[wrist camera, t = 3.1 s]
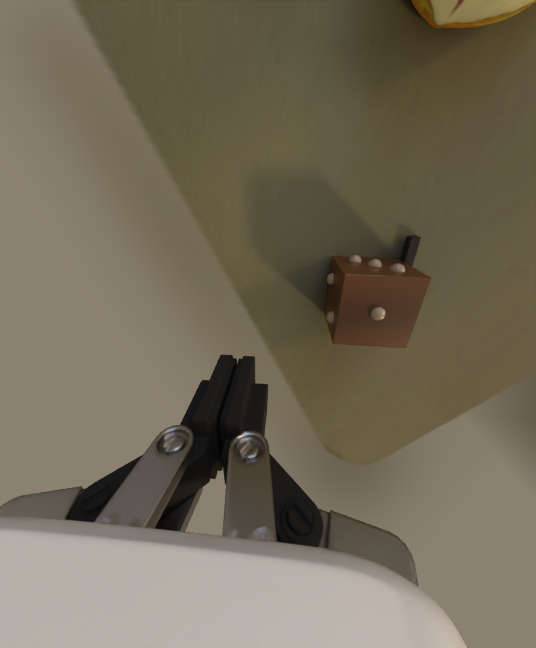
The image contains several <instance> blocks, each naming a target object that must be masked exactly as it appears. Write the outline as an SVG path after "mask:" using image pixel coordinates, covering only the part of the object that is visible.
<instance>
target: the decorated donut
mask: <svg viewBox="0 0 536 648" xmlns="http://www.w3.org/2000/svg"><path fill="white" fill-rule="evenodd" d="M411 1H412V3H413V5H414V7H415V9H416V10H417V11H418V12H419V14H420V15H421V17H423V18H424V19H425V20H426V22H427V23H428V24H429V25H430V26H431V27H433V28H447V29H448V28H470V27H481V26H485V25H488V24H492V23H496V22H499V21H503V20H505V19H507V18H509V17H512V16H514V15H516V14H518V13H519V12H521V11H522V10H524V9H526V8H527V7H529V6H530V5H532V4H533V3H535V2H536V0H411Z"/></svg>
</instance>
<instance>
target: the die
mask: <svg viewBox="0 0 536 648" xmlns="http://www.w3.org/2000/svg"><path fill="white" fill-rule="evenodd" d="M430 279H431V277H429V276H427V275H425V274H424V273H422V272H420V271H418V270H417V269H415V268H413V267H411V266H410V265H408V264H406V263H404V262H403V261H401V260H399V259H397V258H369V257H359V256H358V255H353V256H351V257H340V256H333V257H332V262H331V269H330V274H329V275H328V276H327V282H328V290H327V297H326V304H325V311H324V314H325V317H326V321H327V324H328V328H329V331H330V335H331V338H332V342H333V344H348V345H364V346H381V347H398V348H406V347H407V344H408V342H409V339H410V336H411V333H412V330H413V328H414V325H415V322H416V319H417V316H418V313H419V311H420V308H421V305H422V302H423V299H424V296H425V294H426V291H427V288H428V285H429V282H430Z"/></svg>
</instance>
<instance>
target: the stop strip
mask: <svg viewBox="0 0 536 648" xmlns="http://www.w3.org/2000/svg"><path fill="white" fill-rule="evenodd" d="M420 239H421V237H418V236H408V237H407V241H406V244H405V248H404V251H403V255H402V258H401V261H403V262H404V263H406V264H408V265H410V266H411V267H412V265H413V262H414V258H415V255H416V252H417V249H418V245H419V242H420Z"/></svg>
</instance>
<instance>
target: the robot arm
mask: <svg viewBox="0 0 536 648" xmlns="http://www.w3.org/2000/svg"><path fill="white" fill-rule="evenodd" d="M267 400H268V384H256V383H255V357H253V356H244V357H243V359H239V361H238V363H237V360H236V358H233V356H232V355H221V356H220V358H219V360H218V362H217V364H216V367H215V369H214V371H213V374H212V376H211V378H210V380H202V381H201V383H200V385H199V387H198V389H197V391H196V393H195V395H194V397H193V399H192V401H191V404H190V405H189V407H188V410H187V412H186V414H185V416H184V418H183V420H182V422H181V424H180V425H175V426H171V427H169V428H166V429H165V430H163V431H162V432H161V433H160V434H159V435H158V436H157V437H156V438H155V439H154V441H153V442H152V443H151V445H150V446H149V448H148V449H147V451H146V452H145V453H144V454H143V455H142V456H140V457H138V458H136V459H135V460H133V461H131V462H129V463H128V464H126V465H124V466H123V467H121V468H119V469H117V470H116V471H114V472H112V473H110V474H109V475H107V476H105V477H104V478H102V479H100V480H98V481H97V482H95V483H93V484H92V485H90V486H89V487H88V488H86V489H83V488H82V487H81V486H80V487H74V488H67V489H61V490H54V491H48V492H41V493H35V494H29V495H23V496H19V497H16V498H14V499H12V500H10V501H8V502H6V503H5V504H3V505H2V506H1V507H0V648H467V647H466V645H465V643H464V641H463V640H462V638H461V636H460V634H459V632H458V631H457V629H456V628H455V626H454V625H453V624H452V622H451V620H450V619H449V618H448V616H447V615H446V613H445V612H444V611H443V610H442V609H441V607H440V606H439V605H438V604H437V603H436V602H435V601H434V600H433V599H432V598H431V597H430V596H428V595H427V594H426V593H425V592H424V591H422V590H421V589H420V588H419V586H418V580H417V574H416V568H415V564H414V560H413V557H412V554H411V553H410V551H409V550H408V548H407V546H406V544H405V543H404V542H403V541H402V540H401V539H400V538H399V537H398V536H396V535H394V534H392V533H391V532H389V531H386V530H383V529H381V528H378V527H375V526H372V525H370V524H367V523H364V522H362V521H359V520H356V519H353V518H351V517H348V516H345V515H342V514H340V513H337V512H334V511H330V513H329V512H326V511H324V510H321V509H318V508H317V506H316V505H315V503H314V502H313V501H312V500H311V499H310V498H309V497H308V496H307V494H306V493H305V492H304V491H303V490H302V489H301V488H300V487H299V486H298V484H297V483H296V482H295V481H294V480H293V479H292V478H291V477H290V476H289V475H288V473H287V472H286V471H285V470H284V469H283V468H282V467H281V466H280V465H279V463H278V462H277V461H276V460H275V459H274V458H273V457H272V456H271V455H270V453H269V445H268V442H267V440H266V438H265V437H264V434H265V424H266V414H267ZM222 468H223V470H224V479H225V484H226V495H225V509H224V521H223V534H222V536H218V535H209V534H200V533H190V532H185V530H186V528H187V526H188V523H189V521H190V519H191V516H192V514H193V512H194V510H195V507H196V505H197V503H198V500H199V498H200V496H201V493H202V490H203V486H205V485H206V484H207V483H208V482H209V481H210V478H211V479H215V478H216V475H217V471H221V470H222Z"/></svg>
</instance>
